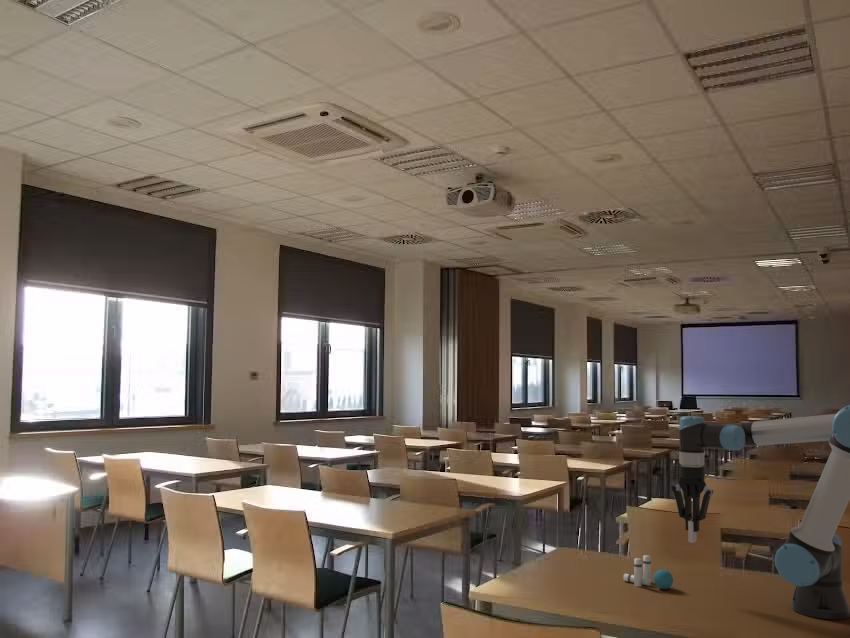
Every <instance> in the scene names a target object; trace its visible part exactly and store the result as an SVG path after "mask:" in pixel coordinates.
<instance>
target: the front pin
mask: <svg viewBox="0 0 850 638" xmlns="http://www.w3.org/2000/svg"><path fill="white" fill-rule="evenodd" d="M622 577H623V581H624V582H628V583H633V584H634V574H631V573H625V572H624V574H623V576H622ZM651 584H652V578H651V579H650V578H646V577H643V576H642V586H648V587H650V586H651Z"/></svg>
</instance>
